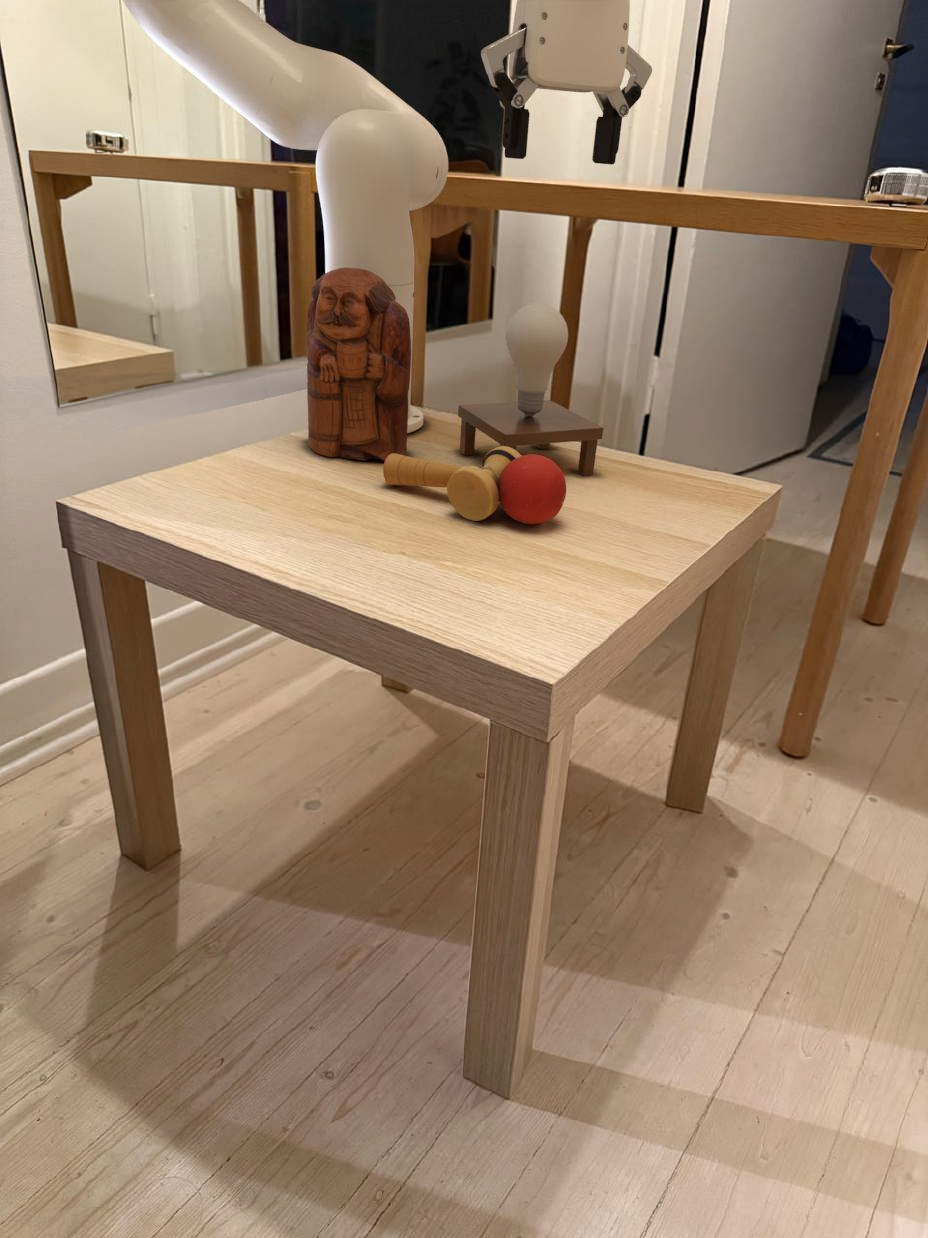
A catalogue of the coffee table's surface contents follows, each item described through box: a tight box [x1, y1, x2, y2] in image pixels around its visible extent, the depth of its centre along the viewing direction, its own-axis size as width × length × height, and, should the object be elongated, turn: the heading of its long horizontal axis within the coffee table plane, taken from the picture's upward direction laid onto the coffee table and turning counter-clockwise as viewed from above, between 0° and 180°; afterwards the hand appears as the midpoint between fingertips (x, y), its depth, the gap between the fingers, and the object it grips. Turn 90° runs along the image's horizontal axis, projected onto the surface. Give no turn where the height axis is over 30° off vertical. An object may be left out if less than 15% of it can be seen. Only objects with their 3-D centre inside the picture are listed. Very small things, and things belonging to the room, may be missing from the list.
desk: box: [457, 399, 604, 476], centre depth 94 cm, size 11×11×5 cm
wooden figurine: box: [305, 268, 411, 462], centre depth 91 cm, size 12×6×18 cm, turn 75°
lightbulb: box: [505, 302, 569, 416], centre depth 90 cm, size 6×6×11 cm
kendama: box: [382, 446, 567, 525], centre depth 82 cm, size 8×6×18 cm
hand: (560, 160), depth 86 cm, fingers open, 9 cm apart
